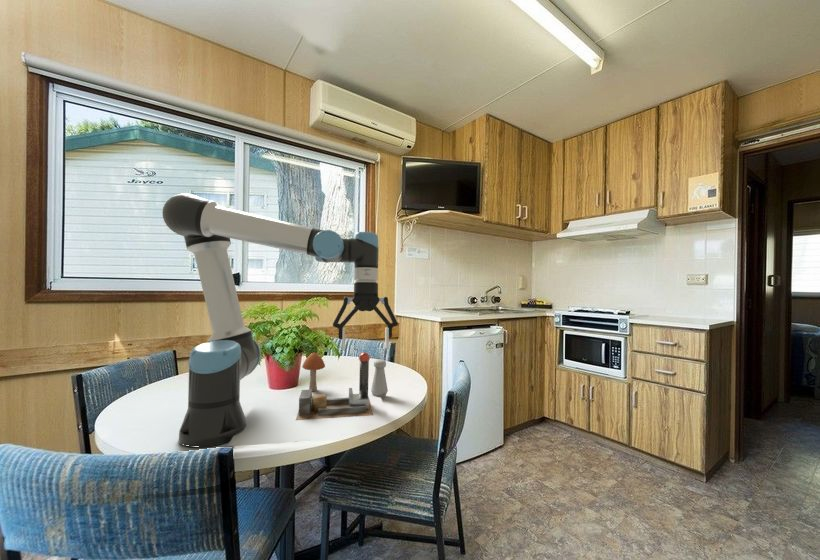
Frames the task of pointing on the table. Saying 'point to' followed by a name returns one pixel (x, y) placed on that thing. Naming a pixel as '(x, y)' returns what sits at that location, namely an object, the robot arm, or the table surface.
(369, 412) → the press bench
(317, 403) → the brown wooden cube
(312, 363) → the mushroom
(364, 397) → the handle
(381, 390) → the salt shaker
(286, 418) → the table surface
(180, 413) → the table surface
